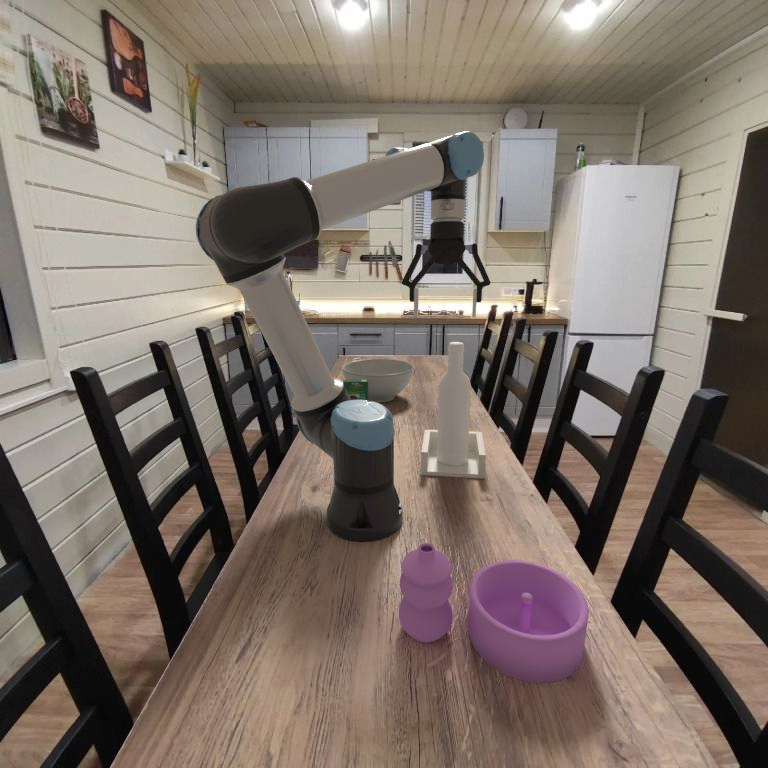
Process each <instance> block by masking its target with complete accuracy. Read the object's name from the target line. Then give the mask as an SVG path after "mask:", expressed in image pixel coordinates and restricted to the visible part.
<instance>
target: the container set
mask: <svg viewBox="0 0 768 768" xmlns="http://www.w3.org/2000/svg"><path fill="white" fill-rule="evenodd" d="M400 567H401V571H402V572H401V575H400V578H399V588H400V592H401V595H402V596H403V597H402V600H401V601H400V604H399V609H398V618H399V619H398V620H399V623H400V625H401V627H402V629H403V631H404V632H405V633H406V634H407V635H409V636H410V637H411V638H413V639H414V640H415V641H417V642H420V643H426V644H427V643H433V642H435V641H437V640H439V639H441V638H442V637H443V636H445V635H446V634H447V633H448V632H449V630H450V628H451V625H452V623H453V609H452V605H451V603H450V601H449V599H450V597H451V595H452V592H453V588H454V587H453V586H454V585H453V584H454V583H453V579H452V576H451V574H452V569H453V568H452V564H451V562H450V560H449V558H448V556H447V555H446V554H445V553H443V552H441V551H439V550H438V549H436V547H435V546H434V544H432V543H429V542H423V543H420V544H419V545H418V548H416V549H413V550H411V551H409V552H408V553H407V554H406V555H405V556H404V558H403V560H402V561H401V566H400ZM589 612H590V610H589V605H588V602H587V600H586V597H585V595H584V594H583V592H582V591H581V590H580V588H579V587H578V586H577V585H576V583H574V582H573V581H572V580H571V579H569V578H567V576H565V575H564V574H562V573H560V572H559V571H556V570H555V569H553V568H550V567H548V566H545V565H543V564H540V563H537V562H536V563H535V562H532V561H526V560H521V559H519V560H518V559H508V560H507V559H505V560H498V561H493V562H491V563H489V564H487V565H484V566H483V567H481V568H480V569H478V571H476V573H475V574H474V575H473V577H472V579H471V581H470V586H469V597H468V618H467V628H468V629H467V630H468V631H467V632H468V636H469V639H470V642H471V644H472V646H473V647H474V649H475V651H476V652H477V653H478V654H479V656H480V657H481V658H482V659H483V660H484V661H485V662H486V663H487V664H489V665H490V666H491V667H493V668H494V669H495V670H497V671H498V672H500V673H503V674H504V675H506V676H508V677H510V678H512V679H516V680H519V681H522V682H528V683H535V684H548V683H549V684H550V683H555V682H559V681H562V680H565V679H567V678H569V676H571V675H573V674H574V673H575V672H576V671H577V670H578V669H579V668H580V666H581V664H582V661H583V660H584V658H583V657H584V652H585V651H584V650H585V644H586V637H587V629H588V628H587V627H588V620H589V614H590V613H589Z"/></svg>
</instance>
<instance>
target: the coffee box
mask: <svg viewBox="0 0 768 768" xmlns="http://www.w3.org/2000/svg"><path fill="white" fill-rule="evenodd" d="M342 382H343V384H344V386H345V388H346V390H347V393H348V395H349V397H350V399H351V400H367V401H368V381H367V380H345V379H343V380H342ZM368 402H369V401H368Z"/></svg>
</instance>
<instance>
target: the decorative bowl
mask: <svg viewBox="0 0 768 768" xmlns="http://www.w3.org/2000/svg"><path fill="white" fill-rule="evenodd" d="M414 371H415V366H414V364H413V363H411V362H408V361H405V360H399V359H393V358H391V359H390V358H369V359H366V358H365V359H359V360H354V361H350V362H346V363H345V364H343V365H342V366H341V372H342V375H343V377H344V380H367V381H368V402H372V401H373V402H377V403H386V402H390V401H393V400H394V399H395V398H396V396H397V395H399V394H401V393H402V392H403V391H404V389H405V388H406V387H407V386H408V384H409V383H410V381H411V379H412V377H413V375H414Z"/></svg>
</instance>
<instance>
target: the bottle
mask: <svg viewBox="0 0 768 768" xmlns="http://www.w3.org/2000/svg"><path fill="white" fill-rule="evenodd" d="M447 351H448V353H447V357H448V359H447V371H446V372H445V373H444V374H443V375H442V376H441V378H440V381H439V385H438V398H437V399H438V403H437V405H438V407H437V409H438V410H437V430H438V438H437V460H438V461H439V462H440V463H442V464H444V465H448V466H460V465H463V464H465V463H466V462H467V461H468V452H469V448H468V442H469V431H470V419H471V418H470V417H471V415H470V414H471V413H470V412H471V393H472V392H471V391H472V384H471V381H470V378H469V376H468V375H467V374H466V373H465V372H464V357H465V356H464V353H465V344H464V342H461V341H451V342H449V343H448V347H447Z"/></svg>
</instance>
